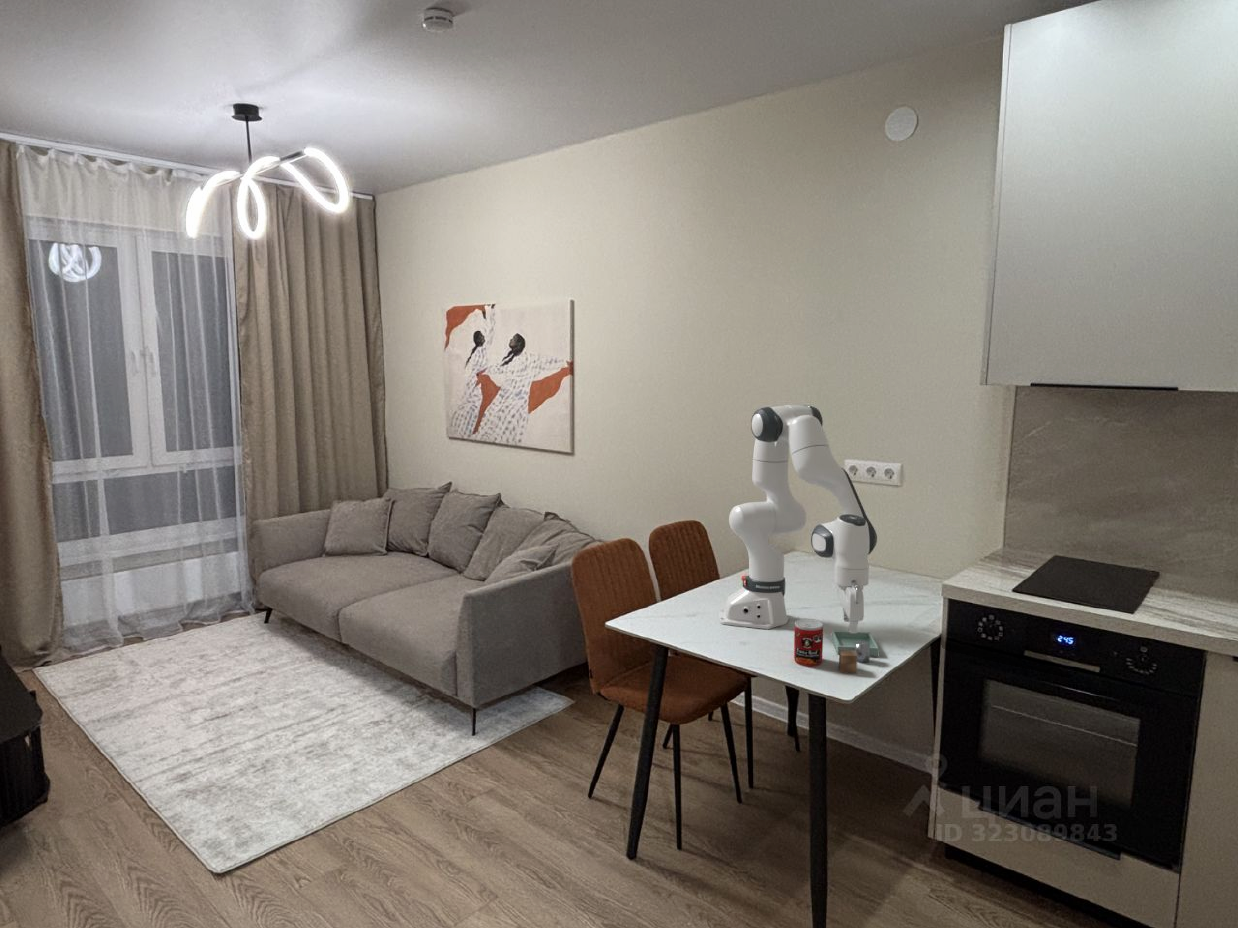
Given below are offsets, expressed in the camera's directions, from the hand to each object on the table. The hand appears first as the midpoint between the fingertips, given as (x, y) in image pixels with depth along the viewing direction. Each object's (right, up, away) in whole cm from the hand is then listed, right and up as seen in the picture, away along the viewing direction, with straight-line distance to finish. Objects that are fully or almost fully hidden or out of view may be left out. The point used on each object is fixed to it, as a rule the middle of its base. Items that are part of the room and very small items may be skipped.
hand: (849, 626), depth 202 cm
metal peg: (+6, -11, +8) cm, 15 cm away
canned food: (-9, -12, +8) cm, 17 cm away
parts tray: (+7, -10, +18) cm, 22 cm away
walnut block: (0, -12, +2) cm, 12 cm away
